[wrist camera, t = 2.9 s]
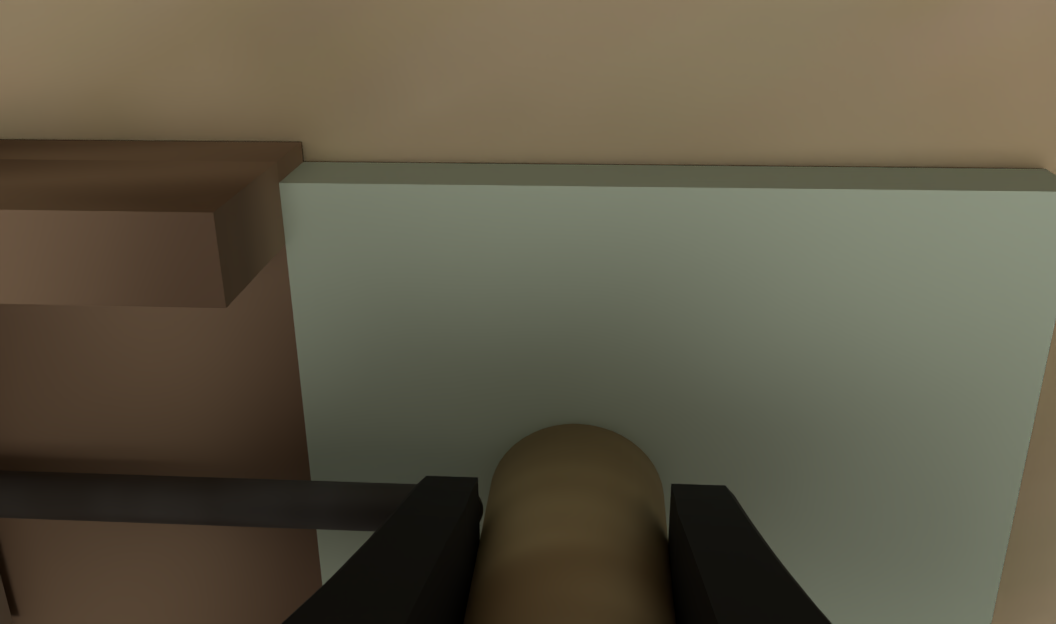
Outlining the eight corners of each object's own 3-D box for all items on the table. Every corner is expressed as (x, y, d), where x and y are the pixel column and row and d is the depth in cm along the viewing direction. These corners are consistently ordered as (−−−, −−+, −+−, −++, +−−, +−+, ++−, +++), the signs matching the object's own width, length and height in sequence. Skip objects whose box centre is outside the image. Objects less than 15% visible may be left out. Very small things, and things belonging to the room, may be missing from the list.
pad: (1045, 168, 12) (1082, 191, 11) (943, 690, 15) (965, 743, 14) (303, 161, 12) (279, 182, 12) (352, 663, 16) (336, 711, 15)
